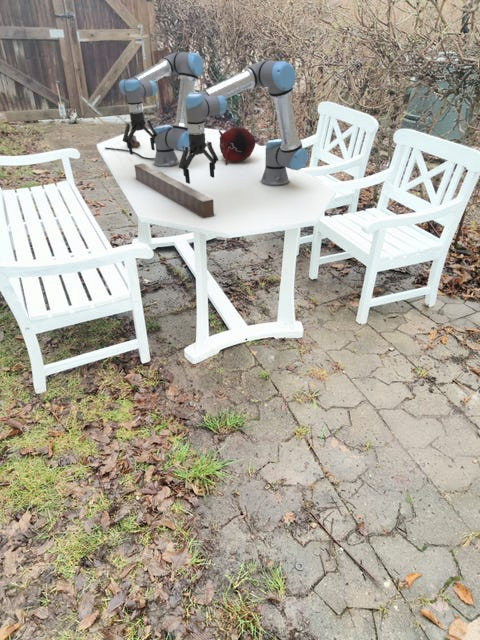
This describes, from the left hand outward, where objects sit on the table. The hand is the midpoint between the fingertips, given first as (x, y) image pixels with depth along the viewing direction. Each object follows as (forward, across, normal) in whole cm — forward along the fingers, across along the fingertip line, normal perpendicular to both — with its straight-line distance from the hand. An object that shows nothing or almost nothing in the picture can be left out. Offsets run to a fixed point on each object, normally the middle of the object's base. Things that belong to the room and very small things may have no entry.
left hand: (142, 152), depth 257 cm
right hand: (-1, 0, -64) cm, 64 cm away
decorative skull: (+18, +68, +4) cm, 71 cm away
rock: (+18, +27, +78) cm, 85 cm away
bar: (+16, -1, -32) cm, 36 cm away
